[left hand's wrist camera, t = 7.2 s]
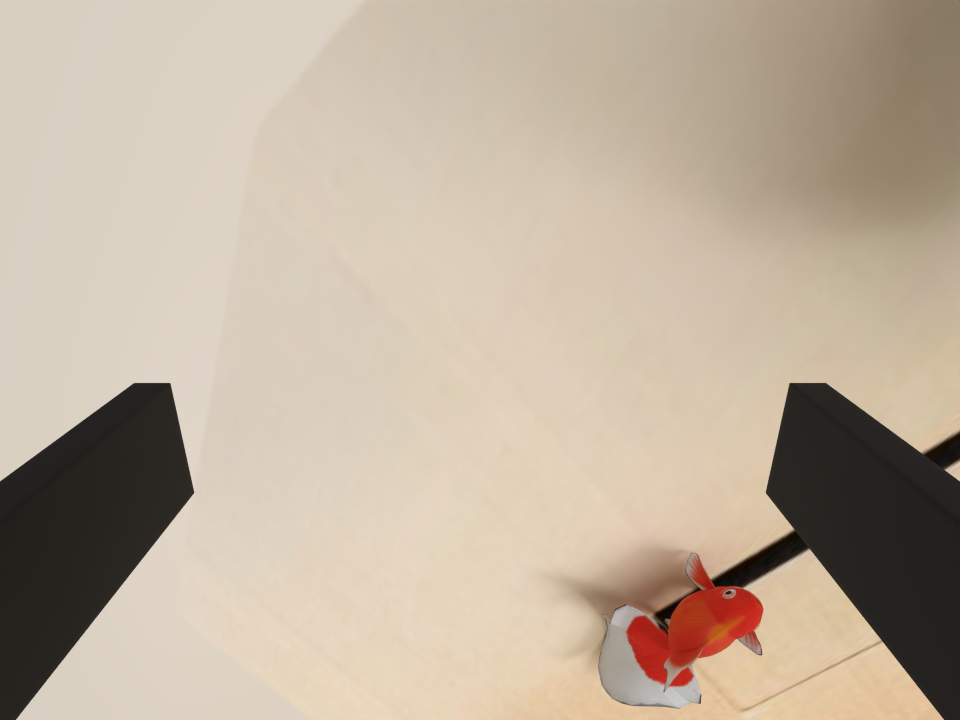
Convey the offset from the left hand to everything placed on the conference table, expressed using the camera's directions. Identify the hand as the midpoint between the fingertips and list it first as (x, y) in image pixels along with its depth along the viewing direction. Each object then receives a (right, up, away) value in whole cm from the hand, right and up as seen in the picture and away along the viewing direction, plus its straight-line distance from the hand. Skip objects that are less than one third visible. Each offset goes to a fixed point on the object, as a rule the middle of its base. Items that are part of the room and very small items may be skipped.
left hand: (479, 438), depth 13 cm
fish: (+15, -19, +37) cm, 44 cm away
